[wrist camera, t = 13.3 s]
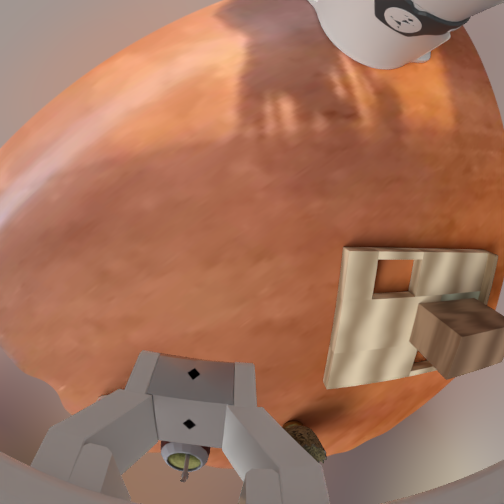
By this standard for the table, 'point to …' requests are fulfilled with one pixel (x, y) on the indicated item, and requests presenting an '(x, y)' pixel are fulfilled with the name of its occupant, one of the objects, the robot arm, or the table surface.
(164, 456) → the mate gourd
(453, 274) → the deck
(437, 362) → the block
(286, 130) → the table surface
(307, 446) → the cup
